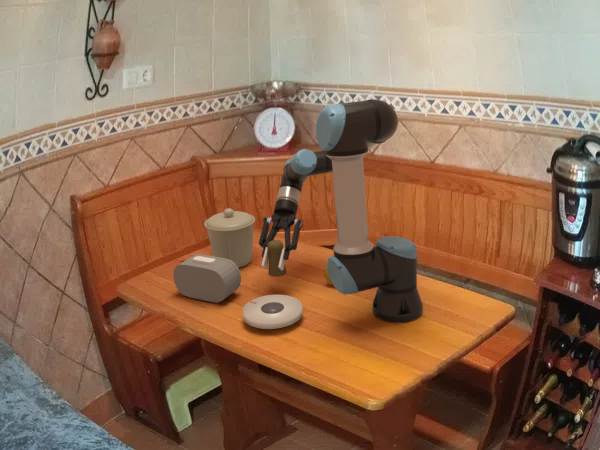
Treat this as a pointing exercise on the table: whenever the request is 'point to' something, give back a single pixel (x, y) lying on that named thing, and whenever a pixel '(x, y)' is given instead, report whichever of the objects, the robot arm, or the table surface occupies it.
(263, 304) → the turntable
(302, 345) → the table surface
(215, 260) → the alarm clock
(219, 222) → the canister
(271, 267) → the cork
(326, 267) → the lemon
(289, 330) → the table surface
